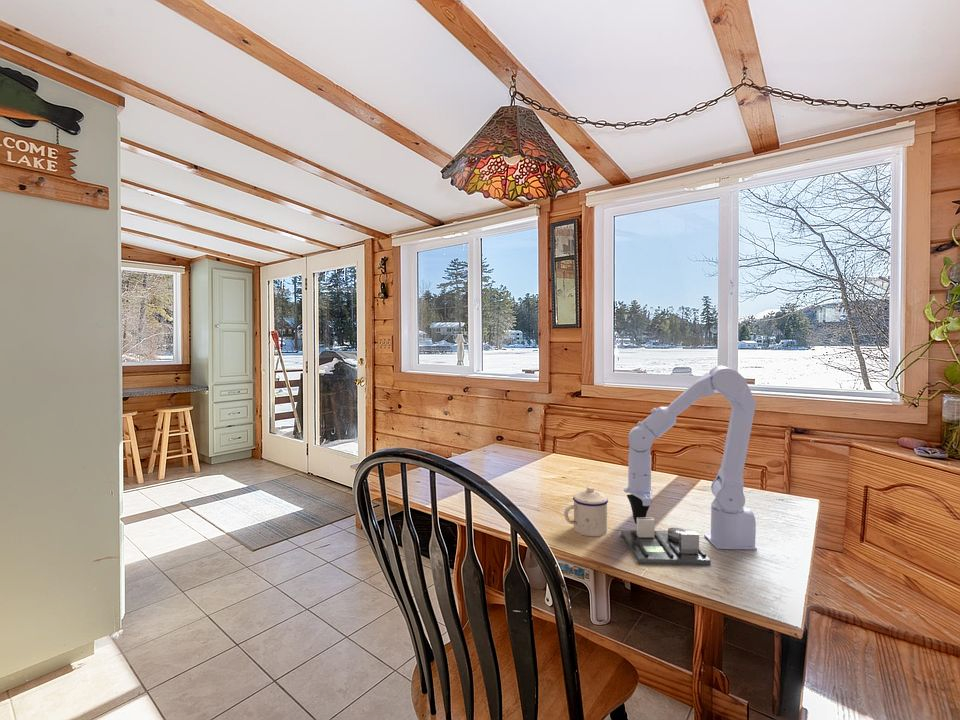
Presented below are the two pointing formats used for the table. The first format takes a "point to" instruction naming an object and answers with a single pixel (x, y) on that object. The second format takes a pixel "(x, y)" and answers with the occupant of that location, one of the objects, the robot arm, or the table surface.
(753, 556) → the table surface
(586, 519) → the teacup with lid
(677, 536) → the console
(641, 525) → the fader
